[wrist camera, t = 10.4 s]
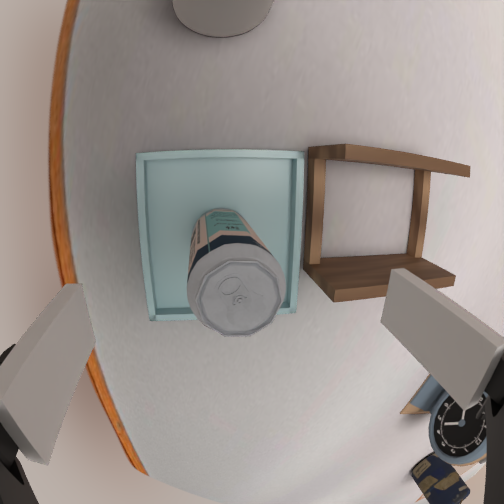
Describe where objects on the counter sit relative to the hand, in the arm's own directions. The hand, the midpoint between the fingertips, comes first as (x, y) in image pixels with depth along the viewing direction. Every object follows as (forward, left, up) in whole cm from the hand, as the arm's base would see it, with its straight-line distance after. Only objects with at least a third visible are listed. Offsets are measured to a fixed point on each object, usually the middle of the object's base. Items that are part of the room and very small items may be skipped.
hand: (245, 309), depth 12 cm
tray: (0, 0, -14) cm, 14 cm away
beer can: (0, 0, -14) cm, 14 cm away
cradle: (-2, +14, -14) cm, 20 cm away
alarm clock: (+26, +34, -15) cm, 45 cm away
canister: (+58, +47, -15) cm, 76 cm away
